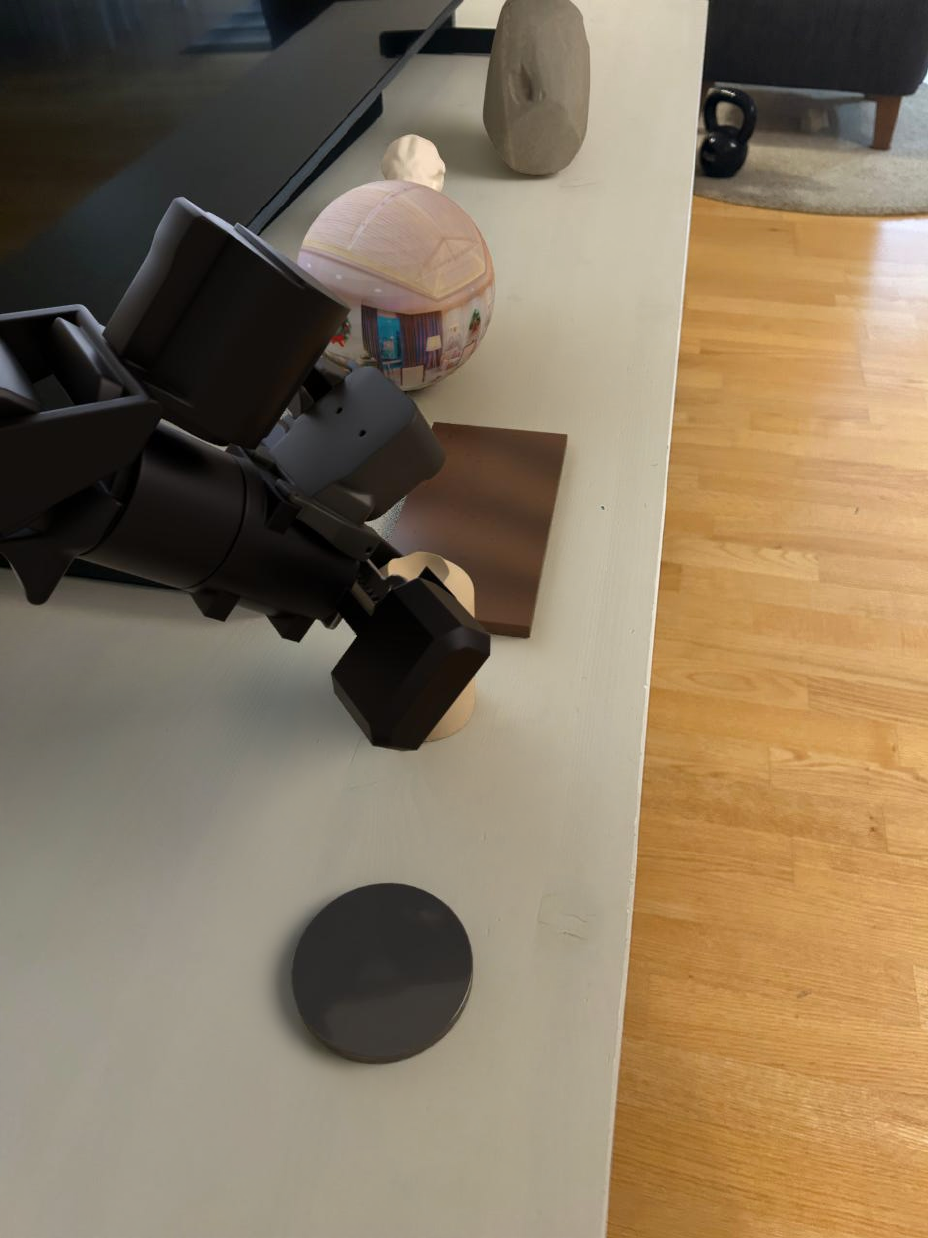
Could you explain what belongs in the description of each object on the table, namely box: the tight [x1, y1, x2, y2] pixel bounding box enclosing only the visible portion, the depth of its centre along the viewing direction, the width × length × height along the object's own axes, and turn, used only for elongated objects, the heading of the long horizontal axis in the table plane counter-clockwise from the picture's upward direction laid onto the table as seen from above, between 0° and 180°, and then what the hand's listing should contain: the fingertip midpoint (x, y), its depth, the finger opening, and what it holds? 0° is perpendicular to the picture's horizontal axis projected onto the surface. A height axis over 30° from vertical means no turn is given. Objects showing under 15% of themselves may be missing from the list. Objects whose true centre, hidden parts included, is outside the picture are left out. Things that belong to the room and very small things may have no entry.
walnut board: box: [388, 421, 569, 639], centre depth 65 cm, size 20×10×1 cm, turn 169°
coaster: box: [290, 882, 474, 1064], centre depth 43 cm, size 8×8×1 cm
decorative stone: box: [482, 0, 591, 176], centre depth 107 cm, size 12×17×15 cm
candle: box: [376, 552, 476, 742], centre depth 51 cm, size 6×6×10 cm
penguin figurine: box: [379, 133, 446, 193], centre depth 94 cm, size 6×8×12 cm
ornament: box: [296, 179, 496, 392], centre depth 74 cm, size 15×15×15 cm
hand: (444, 610), depth 50 cm, fingers closed on candle, 5 cm apart
